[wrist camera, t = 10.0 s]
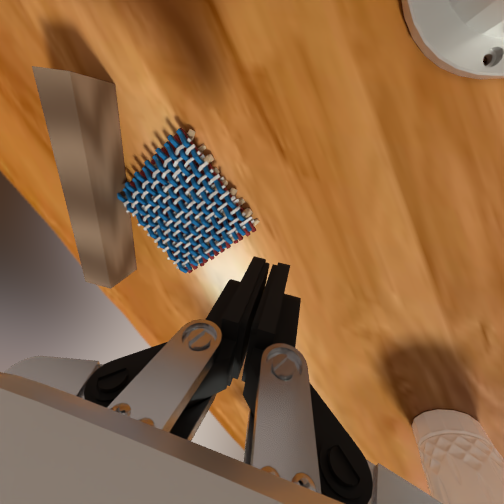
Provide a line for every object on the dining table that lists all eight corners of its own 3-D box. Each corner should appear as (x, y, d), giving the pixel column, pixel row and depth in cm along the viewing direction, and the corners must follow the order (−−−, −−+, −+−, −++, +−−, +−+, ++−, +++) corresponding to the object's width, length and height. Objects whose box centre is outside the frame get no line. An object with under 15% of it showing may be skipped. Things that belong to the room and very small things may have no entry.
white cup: (437, 395, 25) (505, 532, 16) (506, 426, 25) (613, 584, 16) (391, 426, 29) (426, 551, 20) (450, 454, 29) (512, 593, 20)
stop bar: (83, 79, 19) (31, 66, 16) (114, 83, 19) (69, 71, 15) (114, 263, 27) (85, 281, 24) (136, 269, 27) (110, 288, 24)
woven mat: (191, 271, 26) (182, 281, 24) (124, 193, 24) (109, 197, 22) (265, 224, 22) (261, 231, 20) (192, 121, 19) (180, 120, 17)
